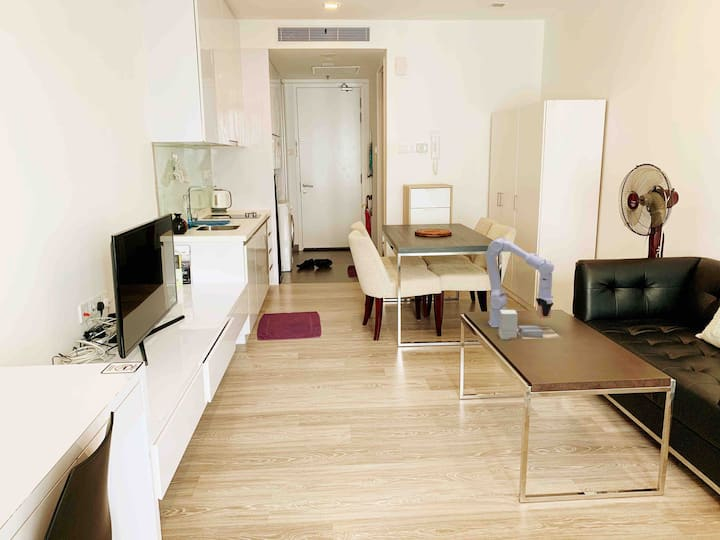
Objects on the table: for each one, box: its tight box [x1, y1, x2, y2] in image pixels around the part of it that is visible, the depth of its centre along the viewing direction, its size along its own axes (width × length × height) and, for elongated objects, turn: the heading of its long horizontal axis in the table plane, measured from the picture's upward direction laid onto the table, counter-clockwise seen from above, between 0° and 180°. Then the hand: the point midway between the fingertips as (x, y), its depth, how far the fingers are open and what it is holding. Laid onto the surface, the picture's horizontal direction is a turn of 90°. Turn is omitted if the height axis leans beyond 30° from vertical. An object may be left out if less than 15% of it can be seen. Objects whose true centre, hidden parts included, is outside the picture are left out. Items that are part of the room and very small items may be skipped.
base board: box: [517, 325, 563, 340], centre depth 265 cm, size 18×18×4 cm
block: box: [536, 304, 552, 319], centre depth 267 cm, size 5×5×5 cm
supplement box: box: [498, 309, 519, 340], centre depth 260 cm, size 7×7×13 cm
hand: (543, 314), depth 267 cm, fingers closed on block, 5 cm apart
